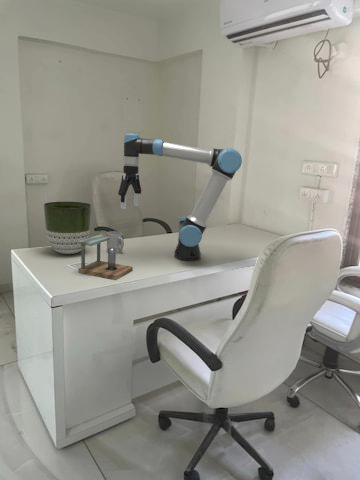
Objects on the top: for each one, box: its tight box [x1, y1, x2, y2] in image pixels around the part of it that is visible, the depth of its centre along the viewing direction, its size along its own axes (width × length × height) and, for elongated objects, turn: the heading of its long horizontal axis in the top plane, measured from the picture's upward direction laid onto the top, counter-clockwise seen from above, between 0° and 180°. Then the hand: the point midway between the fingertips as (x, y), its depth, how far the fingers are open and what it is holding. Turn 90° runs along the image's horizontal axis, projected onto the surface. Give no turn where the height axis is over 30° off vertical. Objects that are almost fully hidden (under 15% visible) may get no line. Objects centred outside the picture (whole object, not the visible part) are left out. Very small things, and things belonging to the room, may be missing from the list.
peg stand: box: [78, 234, 134, 281], centre depth 175 cm, size 20×16×15 cm
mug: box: [106, 231, 125, 254], centre depth 210 cm, size 12×8×11 cm
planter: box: [43, 201, 92, 255], centre depth 201 cm, size 24×24×27 cm
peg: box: [107, 247, 117, 271], centre depth 174 cm, size 4×4×12 cm
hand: (129, 207), depth 190 cm, fingers open, 13 cm apart
